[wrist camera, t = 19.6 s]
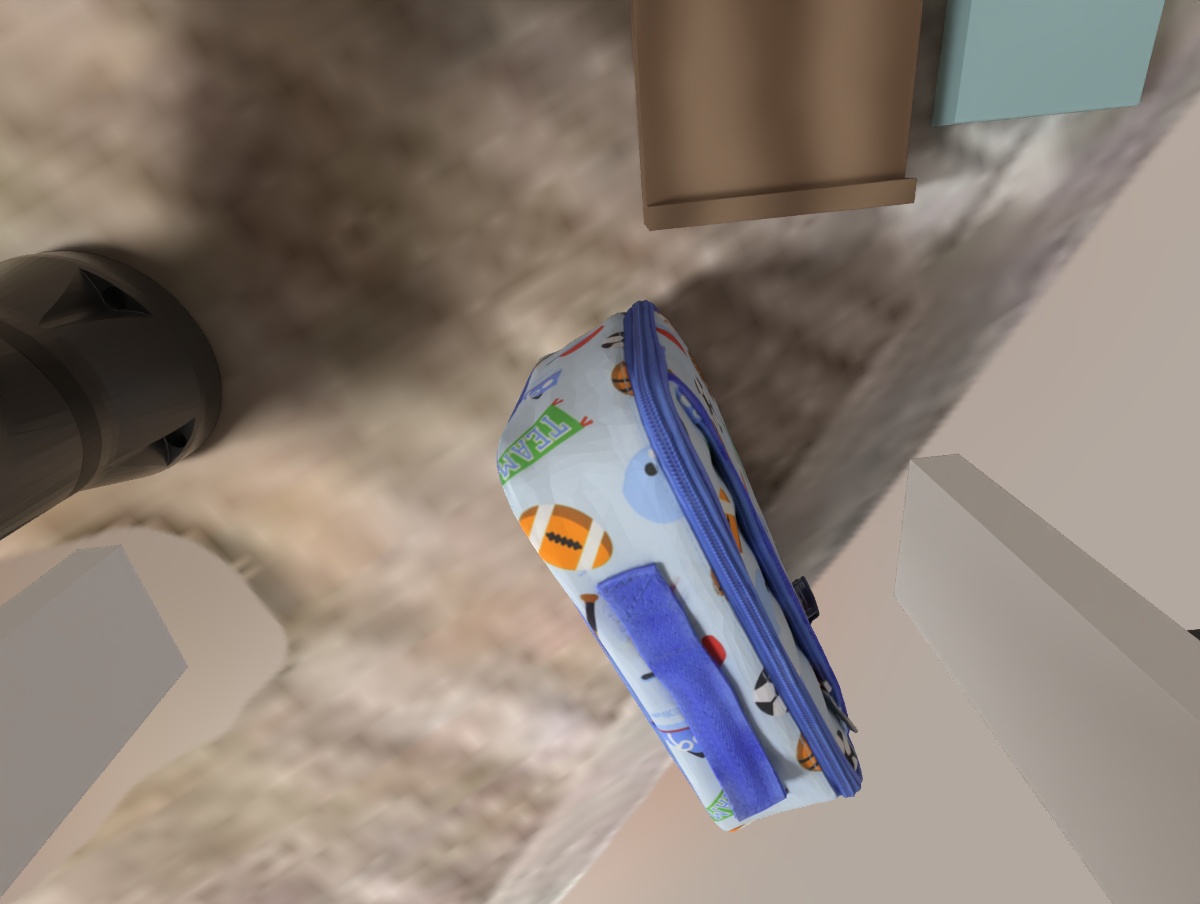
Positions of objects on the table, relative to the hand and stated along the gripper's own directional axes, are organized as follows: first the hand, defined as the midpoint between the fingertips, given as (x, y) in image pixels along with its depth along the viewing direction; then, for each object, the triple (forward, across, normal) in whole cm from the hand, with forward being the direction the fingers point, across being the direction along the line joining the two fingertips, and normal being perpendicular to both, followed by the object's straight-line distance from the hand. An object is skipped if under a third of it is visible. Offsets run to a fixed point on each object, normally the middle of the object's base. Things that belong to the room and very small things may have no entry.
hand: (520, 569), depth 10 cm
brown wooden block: (+31, +12, +9) cm, 34 cm away
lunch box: (+31, +6, -15) cm, 35 cm away
